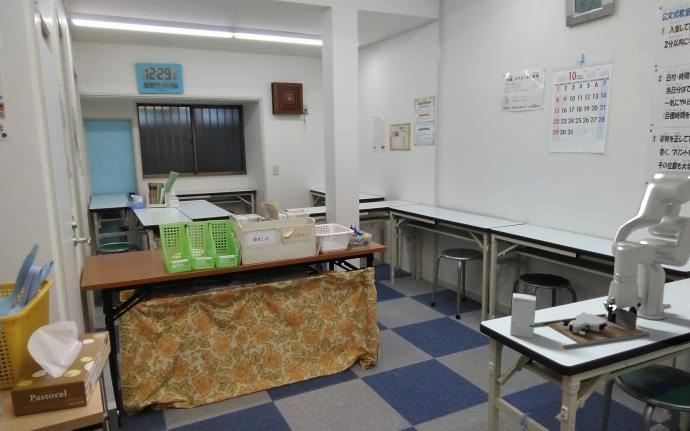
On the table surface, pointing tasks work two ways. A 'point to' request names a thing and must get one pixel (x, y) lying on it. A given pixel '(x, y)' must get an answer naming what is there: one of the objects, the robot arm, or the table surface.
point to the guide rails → (595, 340)
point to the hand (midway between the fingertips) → (621, 320)
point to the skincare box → (523, 315)
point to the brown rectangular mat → (621, 328)
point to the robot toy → (586, 323)
